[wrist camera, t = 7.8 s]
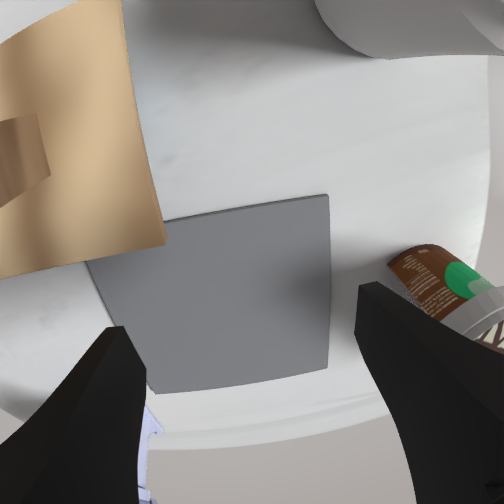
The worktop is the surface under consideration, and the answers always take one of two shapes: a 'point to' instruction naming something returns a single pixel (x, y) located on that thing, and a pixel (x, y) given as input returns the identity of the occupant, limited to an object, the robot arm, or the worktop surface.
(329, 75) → the worktop surface
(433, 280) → the food container
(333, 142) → the worktop surface
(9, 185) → the lid
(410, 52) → the can
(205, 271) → the mat
